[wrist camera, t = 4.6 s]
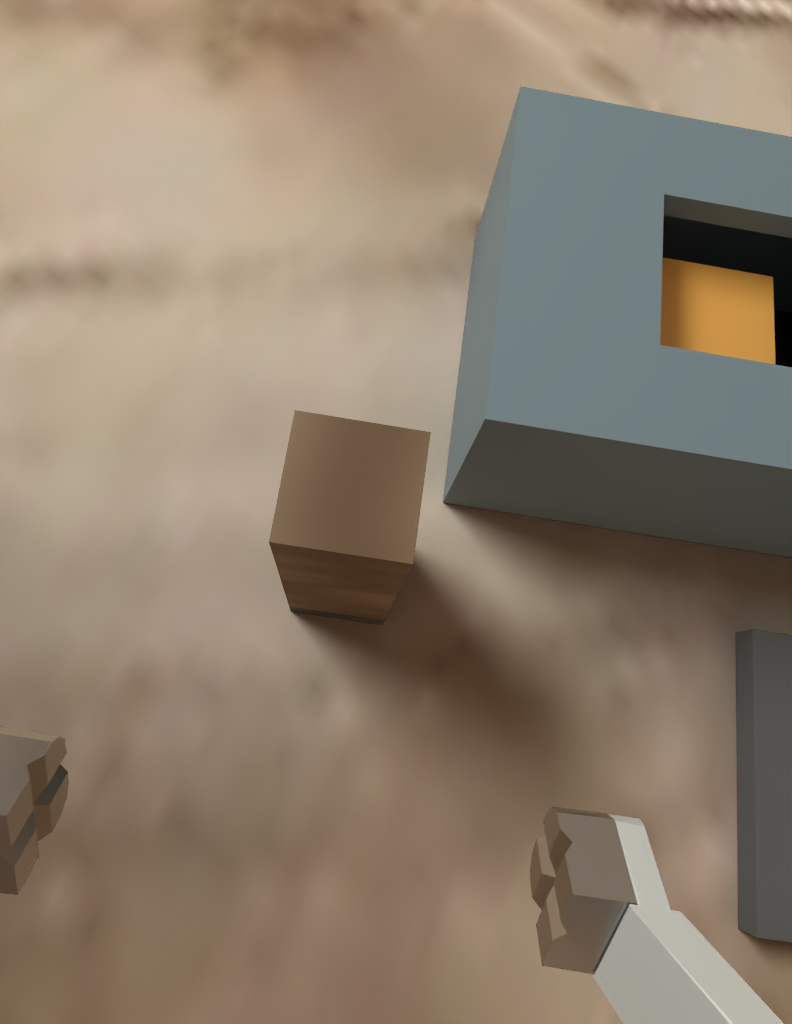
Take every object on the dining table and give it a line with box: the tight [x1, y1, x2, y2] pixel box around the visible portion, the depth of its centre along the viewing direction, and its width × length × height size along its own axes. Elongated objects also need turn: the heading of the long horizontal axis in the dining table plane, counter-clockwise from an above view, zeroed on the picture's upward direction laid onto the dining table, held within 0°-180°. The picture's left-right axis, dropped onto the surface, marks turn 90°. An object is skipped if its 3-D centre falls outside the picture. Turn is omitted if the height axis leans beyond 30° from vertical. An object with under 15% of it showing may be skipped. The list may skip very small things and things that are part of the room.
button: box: [660, 257, 776, 365], centre depth 23 cm, size 4×4×3 cm
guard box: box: [443, 87, 792, 558], centre depth 23 cm, size 14×11×7 cm
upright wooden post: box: [269, 410, 430, 625], centre depth 19 cm, size 3×3×9 cm
